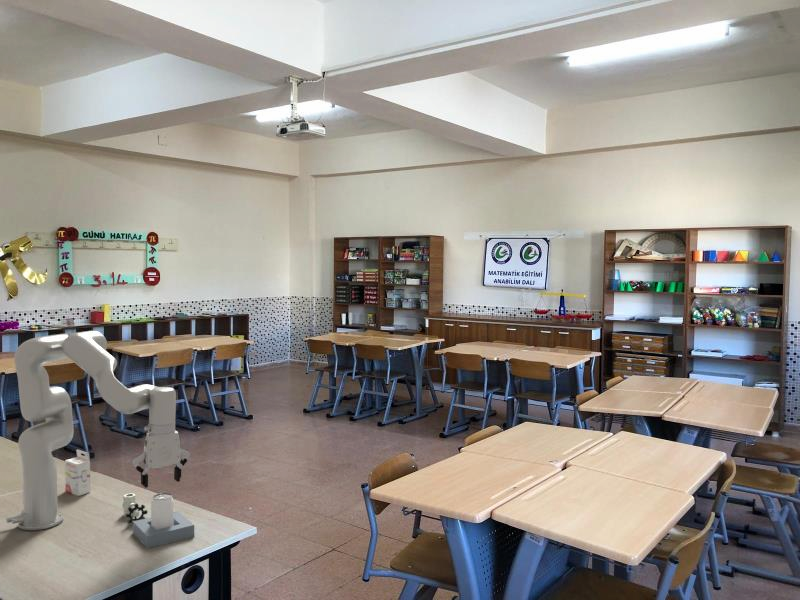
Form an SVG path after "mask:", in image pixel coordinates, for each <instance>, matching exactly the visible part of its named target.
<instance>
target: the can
mask: <svg viewBox="0 0 800 600" xmlns="http://www.w3.org/2000/svg"><path fill="white" fill-rule="evenodd" d="M150 502H151V503H150V505H151V506H150V509H151V512H150V514H151V515H150V517H151V527H152V528H153V529H154V530H158V529H162V528H166V527H170V526H174V512H175V511H174V507H175V505H174V498H173V494H172V493H170V492H160V493H156V494H154V495H153V496H152V500H151V501H150Z"/></svg>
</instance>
